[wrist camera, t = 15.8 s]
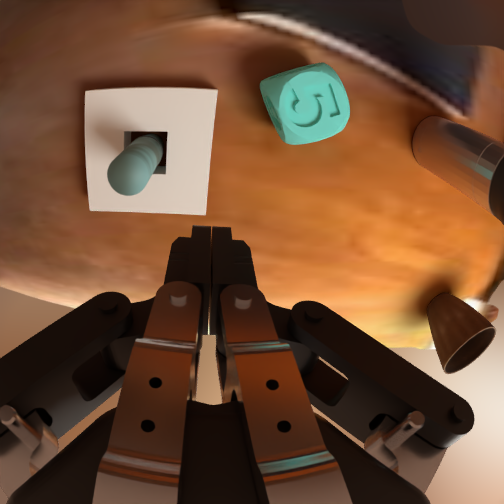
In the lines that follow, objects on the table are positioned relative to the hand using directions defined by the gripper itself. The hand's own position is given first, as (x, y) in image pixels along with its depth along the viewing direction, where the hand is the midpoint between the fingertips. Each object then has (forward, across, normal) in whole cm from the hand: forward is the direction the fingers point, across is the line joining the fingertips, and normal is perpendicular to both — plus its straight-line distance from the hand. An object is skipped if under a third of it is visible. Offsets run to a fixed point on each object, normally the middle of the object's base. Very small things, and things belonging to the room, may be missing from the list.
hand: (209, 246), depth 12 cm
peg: (+28, +8, +3) cm, 30 cm away
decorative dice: (+29, -10, -5) cm, 31 cm away
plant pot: (+29, -55, +31) cm, 69 cm away
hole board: (+28, +8, +3) cm, 30 cm away
